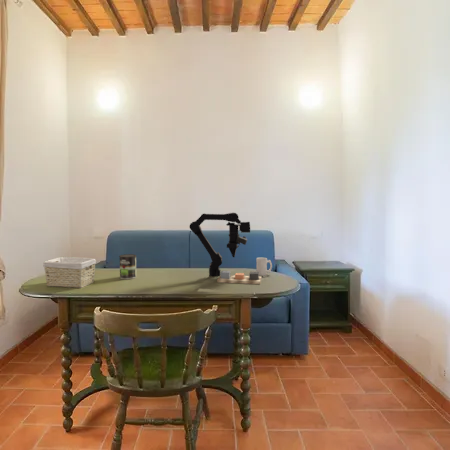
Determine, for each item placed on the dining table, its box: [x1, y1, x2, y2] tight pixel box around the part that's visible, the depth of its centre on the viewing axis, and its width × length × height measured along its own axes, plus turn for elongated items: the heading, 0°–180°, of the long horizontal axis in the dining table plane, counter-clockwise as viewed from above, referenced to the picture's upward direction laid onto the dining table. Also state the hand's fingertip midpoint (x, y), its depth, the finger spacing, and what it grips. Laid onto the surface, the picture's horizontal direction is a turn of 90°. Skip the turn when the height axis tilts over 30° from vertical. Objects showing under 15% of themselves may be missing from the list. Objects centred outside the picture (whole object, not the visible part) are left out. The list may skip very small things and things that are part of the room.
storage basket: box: [43, 256, 97, 289], centre depth 188 cm, size 24×16×15 cm
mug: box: [255, 256, 273, 277], centre depth 207 cm, size 10×7×12 cm, turn 91°
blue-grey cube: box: [221, 270, 231, 279], centre depth 193 cm, size 5×5×5 cm
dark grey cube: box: [249, 271, 259, 280], centre depth 190 cm, size 5×5×5 cm
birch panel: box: [216, 274, 263, 285], centre depth 192 cm, size 25×12×3 cm, turn 80°
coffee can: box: [118, 253, 137, 280], centre depth 205 cm, size 10×10×14 cm
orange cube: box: [234, 272, 245, 279], centre depth 192 cm, size 5×5×5 cm
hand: (233, 257), depth 205 cm, fingers closed
